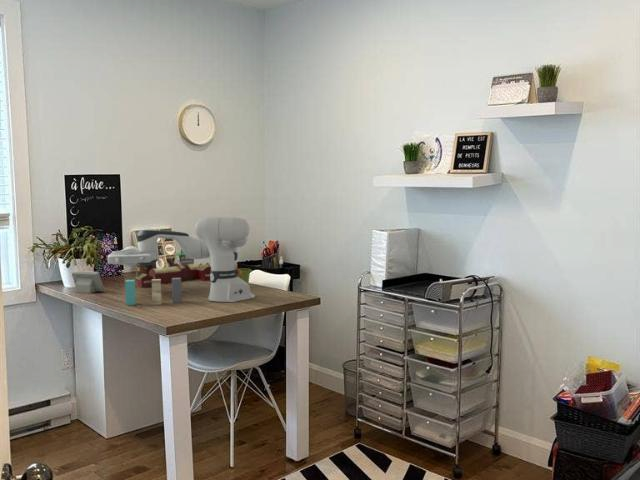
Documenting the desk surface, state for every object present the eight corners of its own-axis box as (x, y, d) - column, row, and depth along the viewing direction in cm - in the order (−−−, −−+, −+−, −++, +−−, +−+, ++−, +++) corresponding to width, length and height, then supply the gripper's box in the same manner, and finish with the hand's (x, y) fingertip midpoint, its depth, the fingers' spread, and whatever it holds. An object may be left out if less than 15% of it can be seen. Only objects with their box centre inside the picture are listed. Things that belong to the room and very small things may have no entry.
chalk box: (189, 270, 381) (189, 246, 380) (194, 272, 373) (194, 248, 372) (175, 271, 377) (174, 247, 375) (179, 273, 369) (178, 249, 367)
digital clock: (105, 291, 314) (105, 270, 313) (91, 294, 306) (90, 273, 305) (83, 288, 321) (82, 268, 320) (69, 291, 313) (68, 271, 312)
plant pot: (253, 286, 326) (253, 270, 325) (236, 288, 322) (235, 271, 321) (248, 283, 335) (248, 268, 334) (231, 285, 331) (231, 269, 330)
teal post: (126, 303, 284) (125, 280, 283) (135, 303, 285) (134, 279, 284) (126, 305, 280) (125, 281, 279) (135, 304, 281) (134, 281, 280)
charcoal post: (172, 301, 289) (171, 278, 288) (181, 300, 290) (180, 277, 289) (172, 302, 285) (172, 279, 284) (181, 302, 286) (181, 278, 285)
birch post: (152, 302, 285) (151, 279, 284) (161, 302, 286) (160, 279, 285) (152, 304, 282) (151, 280, 280) (161, 304, 283) (160, 280, 281)
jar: (160, 277, 357) (159, 251, 355) (140, 279, 350) (139, 252, 349) (152, 274, 366) (151, 249, 365) (132, 276, 360) (132, 250, 358)
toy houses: (202, 275, 364) (202, 258, 363) (219, 280, 348) (218, 262, 347) (127, 283, 337) (126, 265, 336) (141, 289, 321) (141, 270, 319)
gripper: (152, 262, 309) (152, 266, 295) (109, 264, 303) (107, 268, 290) (151, 250, 308) (151, 253, 295) (108, 251, 303) (106, 254, 290)
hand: (129, 260), depth 292 cm, fingers open, 8 cm apart
